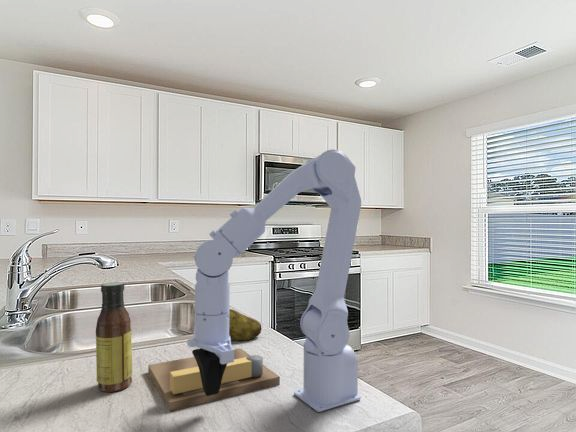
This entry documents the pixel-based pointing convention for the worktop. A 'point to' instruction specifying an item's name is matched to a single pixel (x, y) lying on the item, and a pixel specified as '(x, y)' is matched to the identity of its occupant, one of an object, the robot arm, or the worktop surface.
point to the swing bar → (233, 372)
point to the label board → (195, 397)
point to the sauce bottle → (113, 340)
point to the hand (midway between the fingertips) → (211, 393)
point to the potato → (242, 326)
